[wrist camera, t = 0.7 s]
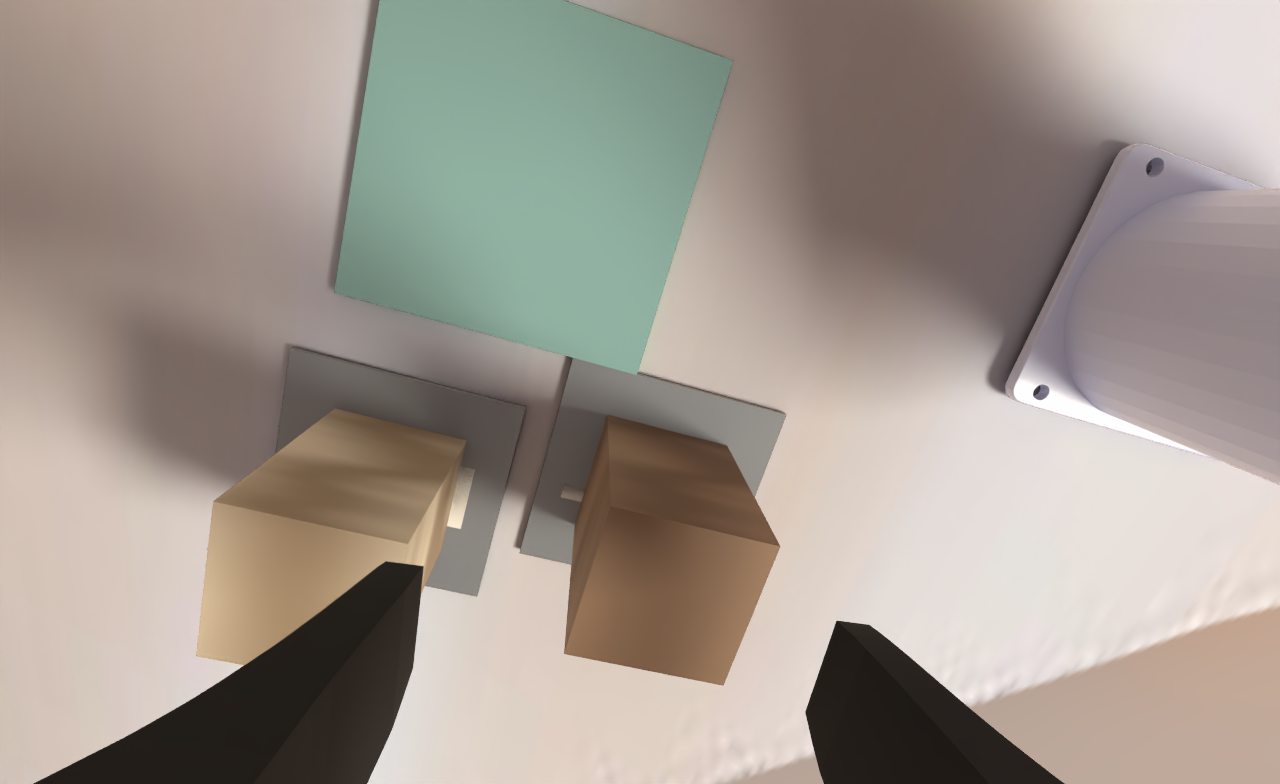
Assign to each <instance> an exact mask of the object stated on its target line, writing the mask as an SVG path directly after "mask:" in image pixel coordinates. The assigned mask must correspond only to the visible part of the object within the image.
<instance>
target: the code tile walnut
mask: <svg viewBox="0 0 1280 784" xmlns="http://www.w3.org/2000/svg"><path fill="white" fill-rule="evenodd" d="M607 415H611V416H615V417H619V418H623V419H627V420H631V421H634V422H638V423H642V424H646V425H650V426H654V427H657V428H661V429H665V430H669V431H673V432H677V433H681V434H684V435H688V436H692V437H696V438H700V439H704V440H707V441H711V442H715V443H719V444H723V445H727V446H728V448H729V450H730V452H731V454H732V456H733V458H734V459H735V461H736V463H737V465H738V467H739V469H740V471H741V473H742V475H743V477H744V479H745V480H746V482H747V484H748V486H749V488H750V490H751V492H752V494H753V496H754V498H755V495H756V493H757V490H758V487H759V485H760V482H761V480H762V477H763V474H764V472H765V469H766V467H767V464H768V461H769V459H770V456H771V454H772V451H773V449H774V446H775V443H776V441H777V438H778V436H779V433H780V430H781V428H782V425H783V423H784V420H785V417H786V414H785V413H783V412H779V411H776V410H772V409H768V408H765V407H761V406H757V405H754V404H750V403H746V402H743V401H739V400H735V399H732V398H728V397H724V396H721V395H717V394H713V393H710V392H706V391H702V390H699V389H695V388H691V387H688V386H684V385H680V384H677V383H673V382H669V381H666V380H662V379H658V378H655V377H651V376H647V375H644V374H640V373H637V375H635V374H631V373H627V372H624V371H620V370H616V369H613V368H609V367H605V366H602V365H598V364H594V363H590V362H587V361H583V360H579V359H576V358H573V360H572V363H571V367H570V370H569V374H568V378H567V381H566V385H565V389H564V392H563V396H562V400H561V403H560V407H559V411H558V414H557V418H556V422H555V425H554V429H553V432H552V436H551V440H550V443H549V447H548V451H547V454H546V458H545V462H544V465H543V469H542V473H541V476H540V480H539V484H538V487H537V491H536V494H535V498H534V502H533V505H532V509H531V513H530V516H529V520H528V524H527V527H526V531H525V535H524V538H523V542H522V546H521V549H520V553H521V554H526V555H530V556H535V557H539V558H544V559H548V560H553V561H557V562H562V563H566V564H572V552H573V540H574V528H575V522H576V519H577V515H578V512H579V509H580V505H581V502H582V499H583V495H584V492H585V489H586V485H587V482H588V479H589V475H590V472H591V469H592V465H593V462H594V459H595V455H596V452H597V448H598V445H599V442H600V438H601V435H602V432H603V428H604V425H605V422H606V418H607Z"/></svg>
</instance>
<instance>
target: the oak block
mask: <svg viewBox="0 0 1280 784" xmlns="http://www.w3.org/2000/svg"><path fill="white" fill-rule="evenodd" d="M466 442H467V441H466V440H462V439H458V438H454V437H450V436H446V435H442V434H438V433H433V432H429V431H425V430H421V429H417V428H413V427H409V426H405V425H401V424H397V423H393V422H389V421H385V420H381V419H376V418H372V417H368V416H364V415H360V414H356V413H352V412H348V411H344V410H340V409H336V408H335V409H334V410H332V411H331V412H330V413H328V414H327V415H326V416H324V417H323V418H322V419H321V420H319V421H318V422H317V423H315V424H314V425H313V426H311V427H310V428H309V429H307V430H306V431H305V432H304V433H302V434H301V435H300V436H298V437H297V438H296V439H294V440H293V441H292V442H290V443H289V444H288V445H287V446H285V447H284V448H283V449H281V450H280V451H279V452H277V453H276V454H275V455H273V456H272V457H271V458H269V459H268V460H267V461H266V462H264V463H263V464H262V465H260V466H259V467H258V468H256V469H255V470H254V471H252V472H251V473H250V474H249V475H247V476H246V477H245V478H243V479H242V480H241V481H239V482H238V483H237V484H235V485H234V486H233V487H232V488H230V489H229V490H228V491H226V492H225V493H224V494H222V495H221V496H220V497H218V498H217V499H216V500H215V501H213V507H212V516H211V525H210V534H209V543H208V552H207V562H206V571H205V580H204V589H203V598H202V607H201V616H200V625H199V634H198V643H197V652H196V656H198V657H203V658H209V659H214V660H220V661H225V662H231V663H236V664H242V665H246V664H247V663H249V662H250V661H252V660H253V659H255V658H256V657H258V656H259V655H261V654H262V653H263V652H265V651H266V650H268V649H269V648H271V647H272V646H274V645H275V644H277V643H278V642H279V641H281V640H282V639H284V638H285V637H286V636H288V635H289V634H291V633H292V632H293V631H295V630H296V629H297V628H299V627H300V626H301V625H303V624H304V623H305V622H307V621H308V620H309V619H311V618H312V617H314V616H315V615H316V614H318V613H319V612H320V611H322V610H323V609H324V608H326V607H327V606H328V605H329V604H331V603H332V602H333V601H335V600H336V599H337V598H339V597H340V596H341V595H342V594H344V593H345V592H346V591H347V590H349V589H350V588H351V587H353V586H354V585H355V584H356V583H358V582H359V581H360V580H361V579H363V578H364V577H365V576H366V575H368V574H369V573H370V572H372V571H373V570H374V569H375V568H377V567H378V566H379V565H381V564H382V563H384V562H385V561H388V562H396V563H404V564H411V565H419V566H424V569H423V578H422V587H421V593H422V590H423V588H424V586H425V584H426V582H427V580H428V578H429V575H430V573H431V571H432V569H433V567H434V565H435V562H436V560H437V558H438V556H439V554H440V552H441V549H442V545H443V541H444V536H445V532H446V528H447V524H448V519H449V515H450V511H451V506H452V502H453V498H454V493H455V489H456V485H457V481H458V476H459V472H460V468H461V463H462V459H463V455H464V451H465V446H466Z"/></svg>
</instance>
